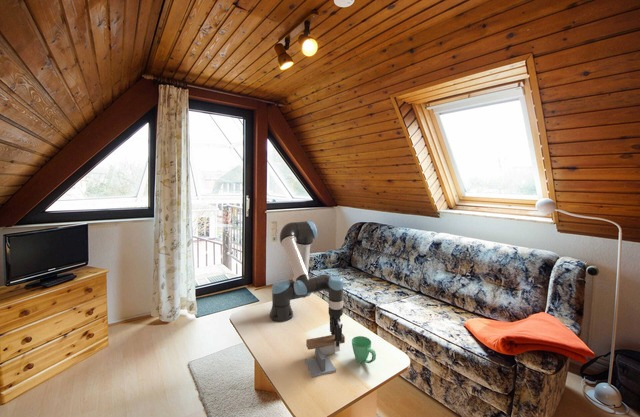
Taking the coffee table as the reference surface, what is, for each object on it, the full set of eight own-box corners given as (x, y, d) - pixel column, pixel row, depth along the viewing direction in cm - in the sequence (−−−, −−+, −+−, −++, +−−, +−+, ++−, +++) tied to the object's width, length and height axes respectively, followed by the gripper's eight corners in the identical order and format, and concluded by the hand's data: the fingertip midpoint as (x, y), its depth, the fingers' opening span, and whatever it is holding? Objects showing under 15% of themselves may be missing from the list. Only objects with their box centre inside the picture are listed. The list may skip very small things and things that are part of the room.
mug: (347, 358, 147) (347, 339, 146) (361, 351, 152) (362, 334, 151) (367, 374, 135) (367, 354, 134) (382, 366, 140) (382, 347, 139)
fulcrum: (305, 361, 145) (305, 348, 144) (327, 356, 148) (327, 344, 147) (311, 377, 133) (311, 363, 132) (335, 371, 137) (336, 358, 136)
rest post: (315, 353, 151) (315, 344, 150) (333, 350, 154) (333, 341, 153) (317, 356, 148) (317, 347, 148) (335, 352, 151) (335, 344, 151)
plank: (306, 345, 149) (306, 339, 149) (342, 339, 155) (342, 333, 155) (308, 349, 146) (308, 343, 145) (344, 342, 152) (344, 336, 152)
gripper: (323, 301, 157) (323, 341, 159) (334, 315, 141) (334, 359, 144) (336, 299, 159) (336, 339, 162) (348, 313, 143) (348, 356, 146)
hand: (335, 348), depth 153 cm, fingers closed on plank, 3 cm apart
